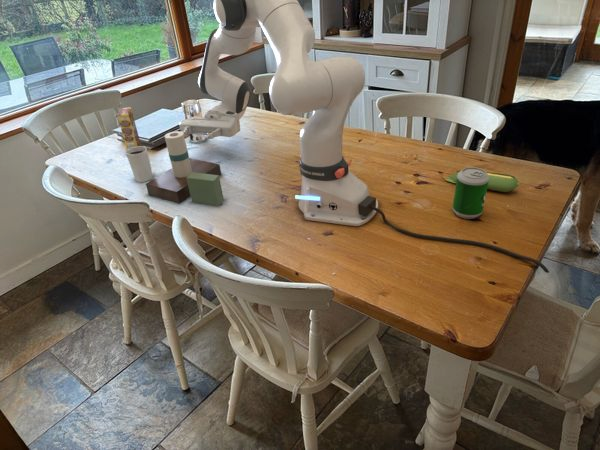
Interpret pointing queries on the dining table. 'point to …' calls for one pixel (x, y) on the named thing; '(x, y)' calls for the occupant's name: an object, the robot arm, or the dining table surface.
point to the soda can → (470, 192)
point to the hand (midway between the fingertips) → (196, 135)
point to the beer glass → (193, 110)
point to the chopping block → (179, 182)
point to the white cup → (140, 163)
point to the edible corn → (495, 181)
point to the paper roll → (178, 154)
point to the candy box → (128, 128)
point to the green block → (205, 188)
